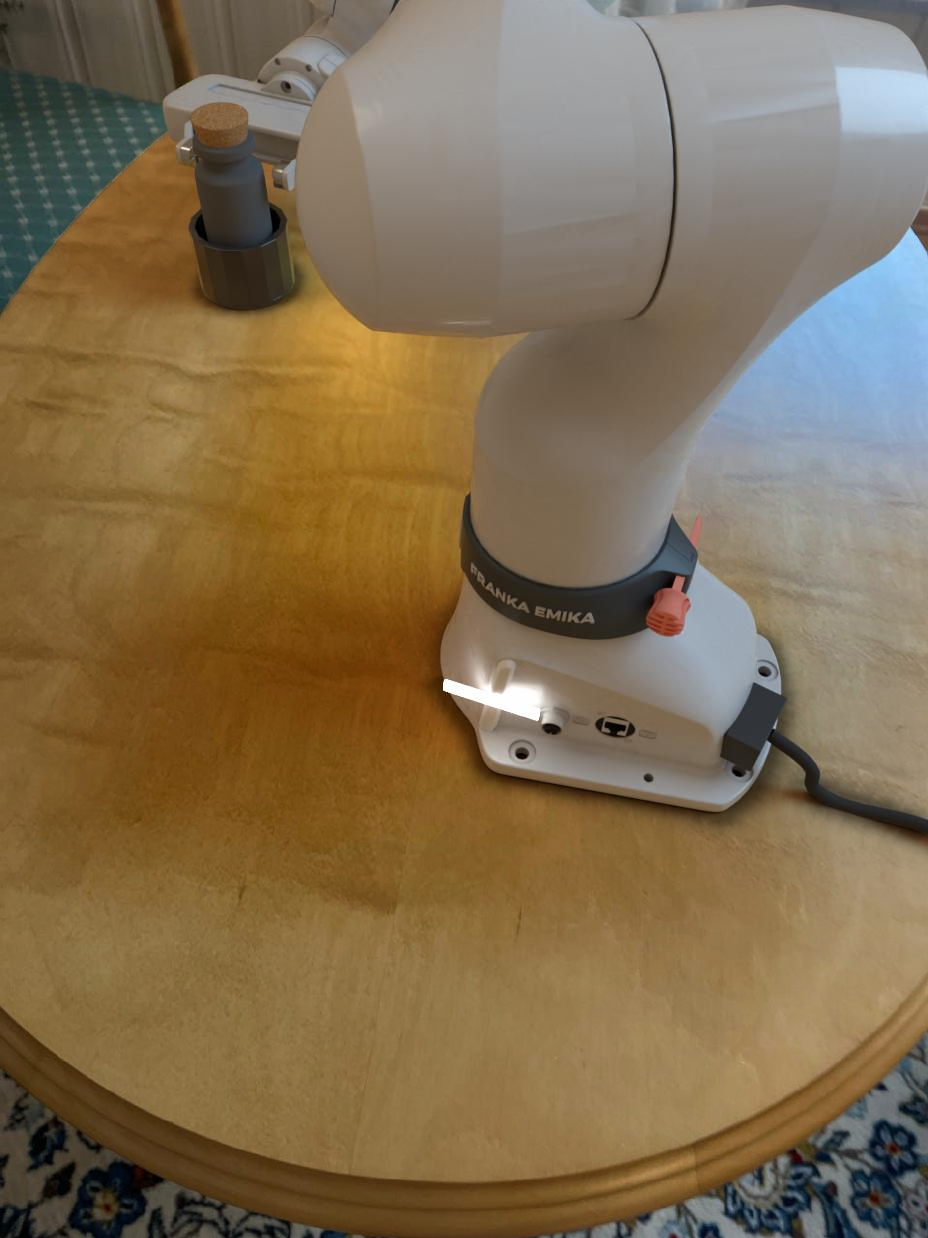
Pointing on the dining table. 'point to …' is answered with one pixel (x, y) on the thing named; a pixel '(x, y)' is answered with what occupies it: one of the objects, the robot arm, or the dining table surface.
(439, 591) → the dining table surface
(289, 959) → the dining table surface
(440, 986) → the dining table surface
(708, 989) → the dining table surface
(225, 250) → the tube
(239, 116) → the bottle
